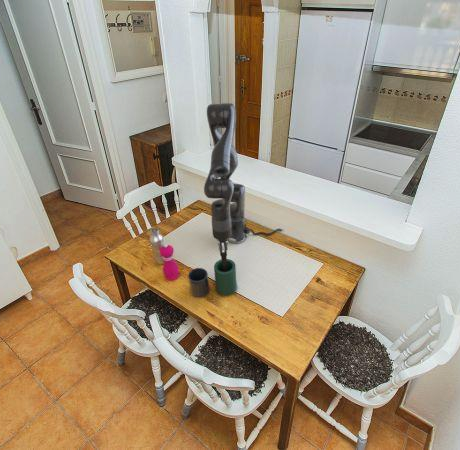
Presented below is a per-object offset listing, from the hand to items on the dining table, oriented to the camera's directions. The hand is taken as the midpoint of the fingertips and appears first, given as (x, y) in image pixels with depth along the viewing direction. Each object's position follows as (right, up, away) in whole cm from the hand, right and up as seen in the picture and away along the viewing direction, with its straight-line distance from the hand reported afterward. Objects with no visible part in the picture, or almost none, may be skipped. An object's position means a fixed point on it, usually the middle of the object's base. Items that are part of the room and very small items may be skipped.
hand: (224, 258), depth 133 cm
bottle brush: (0, -12, +9) cm, 15 cm away
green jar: (0, -15, +11) cm, 19 cm away
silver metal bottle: (-33, -5, +26) cm, 42 cm away
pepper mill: (-26, -11, +18) cm, 33 cm away
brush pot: (-12, -16, +11) cm, 22 cm away
